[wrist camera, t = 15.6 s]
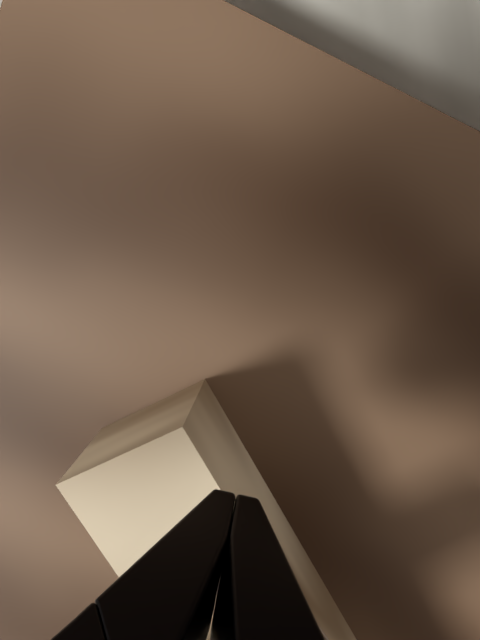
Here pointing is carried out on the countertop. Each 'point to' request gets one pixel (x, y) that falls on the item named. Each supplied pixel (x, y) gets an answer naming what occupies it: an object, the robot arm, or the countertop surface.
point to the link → (177, 487)
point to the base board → (238, 296)
